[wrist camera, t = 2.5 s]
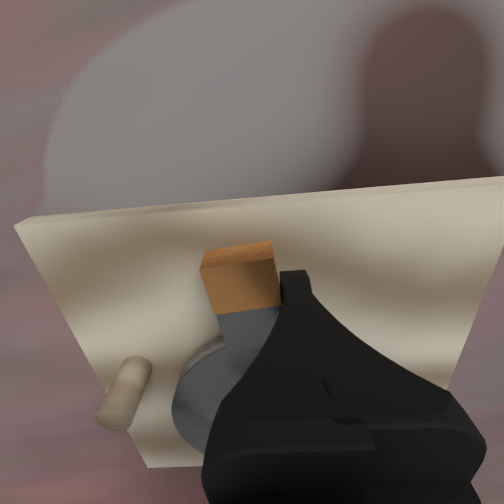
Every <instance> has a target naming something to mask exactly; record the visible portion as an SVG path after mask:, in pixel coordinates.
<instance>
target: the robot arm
mask: <svg viewBox="0 0 504 504" xmlns="http://www.w3.org/2000/svg"><path fill="white" fill-rule="evenodd" d="M279 274H280V293H281V301H282V307H281V309H280V312H279V315H278V317H277V320H276V322H275V324H274V326H273V329H272V331H271V333H270V335H269V336H268V338H267V340H266V342H265V343H264V345H263V347H262V349H261V350H260V352H259V353H258V355H257V357H256V358H255V359H254V361H253V362H252V364H251V365H250V366H249V368H248V369H247V371H246V372H245V373H244V375H243V376H242V377H241V379H240V380H239V381H238V382H237V383H236V384H235V386H234V387H233V388H232V389H231V390H230V391H229V393H228V394H227V395H226V396H225V397H224V398H223V400H222V401H221V403H220V405H219V407H218V410H217V412H216V415H215V418H214V420H213V423H212V426H211V429H210V432H209V436H208V440H207V444H206V448H205V453H204V460H203V467H202V473H201V479H202V486H203V488H204V491H205V494H206V496H207V499H208V502H209V504H481V500H480V499H479V497H478V495H477V493H476V492H475V490H474V488H473V486H472V484H471V483H470V482H471V480H472V478H473V477H474V475H475V474H476V472H477V470H478V469H479V467H480V466H481V464H482V462H483V460H484V457H485V454H486V451H487V447H486V442H485V439H484V438H483V437H482V435H481V434H480V432H479V431H478V429H477V428H476V426H475V425H474V423H473V422H472V420H471V419H470V417H469V416H468V415H467V413H466V412H465V410H464V409H463V408H462V407H461V405H460V404H459V403H458V402H457V401H456V399H455V398H454V397H453V395H452V394H451V393H450V392H449V391H447V390H445V389H443V388H441V387H439V386H437V385H435V384H433V383H431V382H430V381H428V380H426V379H424V378H422V377H420V376H418V375H416V374H414V373H412V372H411V371H409V370H407V369H405V368H404V367H402V366H400V365H399V364H397V363H395V362H394V361H392V360H390V359H389V358H387V357H386V356H384V355H383V354H381V353H379V352H378V351H377V350H375V349H374V348H372V347H371V346H369V345H368V344H367V343H365V342H364V341H362V340H361V339H360V338H358V337H357V336H356V335H354V334H353V333H352V332H351V331H350V330H348V329H347V328H346V327H345V326H344V325H343V324H341V323H340V322H339V321H338V320H337V319H336V318H335V317H334V316H333V315H332V314H331V313H330V312H329V311H328V310H327V309H326V308H325V307H324V306H323V305H322V304H321V303H320V302H319V300H318V299H317V298H316V297H315V296H314V295H313V293H312V288H311V283H310V278H309V276H308V274H307V272H306V270H292V271H279Z"/></svg>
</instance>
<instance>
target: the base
mask: <svg viewBox="0 0 504 504" xmlns="http://www.w3.org/2000/svg"><path fill="white" fill-rule="evenodd" d="M14 228H15V229H16V231H17V233H18V235H19V237H20V238H21V240H22V242H23V244H24V246H25V247H26V249H27V251H28V253H29V255H30V257H31V258H32V260H33V262H34V264H35V266H36V267H37V269H38V271H39V273H40V275H41V276H42V278H43V280H44V282H45V284H46V285H47V287H48V289H49V291H50V293H51V294H52V296H53V298H54V300H55V302H56V303H57V305H58V307H59V309H60V311H61V312H62V314H63V316H64V318H65V320H66V321H67V323H68V325H69V327H70V329H71V330H72V332H73V334H74V336H75V338H76V339H77V341H78V343H79V345H80V347H81V348H82V350H83V352H84V354H85V356H86V357H87V359H88V361H89V363H90V365H91V366H92V368H93V370H94V372H95V374H96V375H97V377H98V379H99V381H100V383H101V384H102V386H103V388H104V390H105V392H106V393H107V396H106V398H105V400H104V402H103V404H102V406H101V408H100V410H99V412H98V414H97V416H96V421H97V423H98V424H99V425H100V426H102V427H103V428H105V429H108V430H112V431H123V430H127V431H128V433H129V435H130V437H131V438H132V440H133V442H134V444H135V446H136V447H137V449H138V451H139V453H140V455H141V456H142V458H143V460H144V462H145V464H146V465H147V467H148V468H158V467H187V466H203V460H204V454H203V453H201V452H199V451H198V450H196V449H195V448H193V447H192V446H191V445H190V444H188V443H187V442H186V441H185V440H184V439H183V437H182V436H181V435H180V434H179V432H178V431H177V429H176V427H175V425H174V422H173V419H172V414H171V406H172V401H173V397H174V393H175V390H176V386H177V382H178V379H179V375H180V373H181V371H182V368H183V366H184V365H185V363H186V362H187V361H188V359H189V358H190V357H191V356H192V355H193V354H194V353H195V352H196V351H197V350H198V349H200V348H201V347H202V346H204V345H205V344H206V343H208V342H210V341H212V340H214V339H215V338H217V337H220V336H222V332H221V329H220V326H219V323H218V320H217V316H216V315H214V313H213V310H212V307H211V304H210V301H209V298H208V295H207V292H206V289H205V286H204V283H203V280H202V277H201V274H200V271H199V268H200V265H201V262H202V259H203V256H204V253H205V251H206V250H212V249H218V248H224V247H231V246H237V245H243V244H249V243H255V242H261V241H268V240H272V244H273V250H274V256H275V262H276V268H277V274H278V279H279V286H280V274H279V271H292V270H306V272H307V274H308V276H309V278H310V283H311V288H312V293H313V295H314V296H315V297H316V298H317V299H318V300H319V302H320V303H321V304H322V305H323V306H324V307H325V308H326V309H327V310H328V311H329V312H330V313H331V314H332V315H333V316H334V317H335V318H336V319H337V320H338V321H339V322H340V323H341V324H343V325H344V326H345V327H346V328H347V329H348V330H350V331H351V332H352V333H353V334H354V335H356V336H357V337H358V338H360V339H361V340H362V341H364V342H365V343H367V344H368V345H369V346H371V347H372V348H374V349H375V350H377V351H378V352H379V353H381V354H383V355H384V356H386V357H387V358H389V359H390V360H392V361H394V362H395V363H397V364H399V365H400V366H402V367H404V368H405V369H407V370H409V371H411V372H412V373H414V374H416V375H418V376H420V377H422V378H424V379H426V380H428V381H430V382H431V383H433V384H435V385H437V386H439V387H441V388H443V389H445V390H446V389H447V387H448V384H449V382H450V379H451V377H452V374H453V372H454V369H455V367H456V364H457V362H458V359H459V357H460V354H461V352H462V349H463V346H464V344H465V341H466V339H467V336H468V334H469V331H470V329H471V326H472V324H473V321H474V319H475V316H476V314H477V311H478V309H479V306H480V304H481V301H482V299H483V296H484V294H485V291H486V289H487V286H488V284H489V281H490V279H491V276H492V273H493V271H494V268H495V266H496V263H497V261H498V258H499V256H500V253H501V251H502V248H503V246H504V176H498V177H487V178H476V179H464V180H453V181H441V182H428V183H417V184H405V185H393V186H382V187H370V188H359V189H347V190H335V191H323V192H311V193H300V194H289V195H278V196H277V195H276V196H265V197H254V198H243V199H230V200H218V201H206V202H195V203H183V204H171V205H160V206H148V207H136V208H125V209H113V210H101V211H90V212H78V213H66V214H55V215H43V216H31V217H29V218H27V219H25V220H23V221H21V222H19V223H17V224H16V225H14Z"/></svg>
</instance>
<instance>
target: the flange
mask: <svg viewBox="0 0 504 504" xmlns="http://www.w3.org/2000/svg"><path fill="white" fill-rule="evenodd" d="M199 271H200V274H201V277H202V280H203V283H204V286H205V289H206V292H207V295H208V298H209V301H210V304H211V307H212V310H213V313H214V315H216V316H217V320H218V323H219V326H220V329H221V332H222V336H220V337H217V338H215V339H214V340H212V341H210V342H208V343H206V344H205V345H204V346H202V347H201V348H200V349H198V350H197V351H196V352H195V353H194V354H193V355H192V356H191V357H190V358H189V359H188V361H187V362H186V363H185V365H184V366H183V368H182V371H181V373H180V375H179V379H178V382H177V386H176V390H175V393H174V397H173V401H172V406H171V414H172V419H173V422H174V425H175V427H176V429H177V431H178V432H179V434H180V435H181V436H182V437H183V439H184V440H185V441H186V442H187V443H188V444H190V445H191V446H192V447H193V448H195V449H196V450H198V451H199V452H201V453H203V454H204V453H205V448H206V444H207V440H208V436H209V432H210V429H211V426H212V423H213V420H214V418H215V415H216V412H217V410H218V407H219V405H220V403H221V401H222V400H223V398H224V397H225V396H226V395H227V394H228V393H229V391H230V390H231V389H232V388H233V387H234V386H235V384H236V383H237V382H238V381H239V380H240V379H241V377H242V376H243V375H244V373H245V372H246V371H247V369H248V368H249V366H250V365H251V364H252V362H253V361H254V359H255V358H256V357H257V355H258V353H259V352H260V350H261V349H262V347H263V345H264V343H265V342H266V340H267V338H268V336H269V335H270V333H271V331H272V329H273V326H274V324H275V322H276V320H277V317H278V315H279V312H280V309H281V307H282V301H281V293H280V286H279V279H278V274H277V268H276V262H275V256H274V250H273V244H272V240H268V241H261V242H255V243H249V244H243V245H237V246H231V247H224V248H218V249H212V250H206V251H205V253H204V256H203V259H202V262H201V265H200V268H199Z"/></svg>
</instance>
